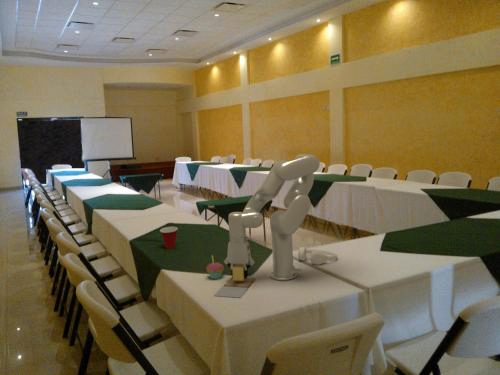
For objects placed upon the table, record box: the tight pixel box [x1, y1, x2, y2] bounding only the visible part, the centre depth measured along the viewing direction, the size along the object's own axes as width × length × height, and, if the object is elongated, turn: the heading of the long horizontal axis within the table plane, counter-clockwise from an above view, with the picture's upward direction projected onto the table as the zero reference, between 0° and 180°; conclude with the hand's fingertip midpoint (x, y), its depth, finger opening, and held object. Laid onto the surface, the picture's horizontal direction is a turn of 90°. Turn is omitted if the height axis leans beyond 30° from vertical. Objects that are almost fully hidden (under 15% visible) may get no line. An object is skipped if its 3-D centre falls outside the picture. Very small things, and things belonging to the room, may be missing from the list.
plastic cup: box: [159, 226, 179, 250], centre depth 258 cm, size 11×11×12 cm
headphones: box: [297, 246, 338, 266], centre depth 222 cm, size 7×18×20 cm
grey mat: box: [213, 285, 249, 299], centre depth 183 cm, size 12×11×1 cm
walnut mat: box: [223, 276, 257, 289], centre depth 194 cm, size 12×11×1 cm
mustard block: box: [232, 264, 245, 281], centre depth 193 cm, size 5×5×6 cm
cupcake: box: [205, 255, 225, 280], centre depth 202 cm, size 9×8×12 cm
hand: (239, 277), depth 194 cm, fingers closed on mustard block, 4 cm apart
